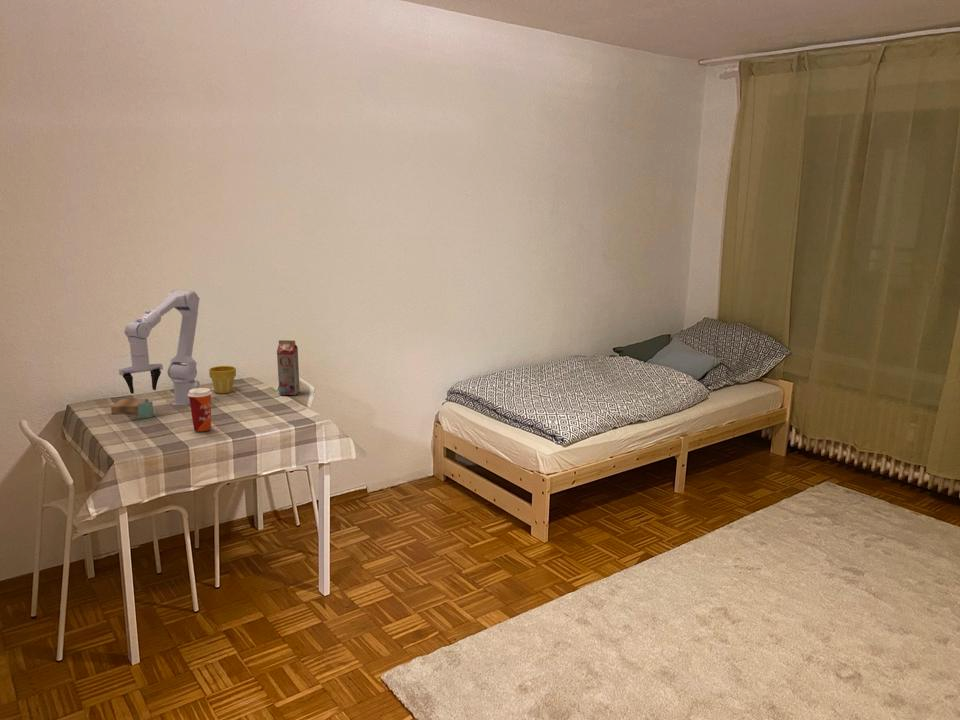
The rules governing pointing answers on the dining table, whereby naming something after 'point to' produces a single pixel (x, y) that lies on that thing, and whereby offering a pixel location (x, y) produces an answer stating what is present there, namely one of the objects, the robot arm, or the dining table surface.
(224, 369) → the plant pot
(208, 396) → the paper cup
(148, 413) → the teal block
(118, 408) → the walnut plinth
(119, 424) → the dining table surface
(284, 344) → the juice carton
